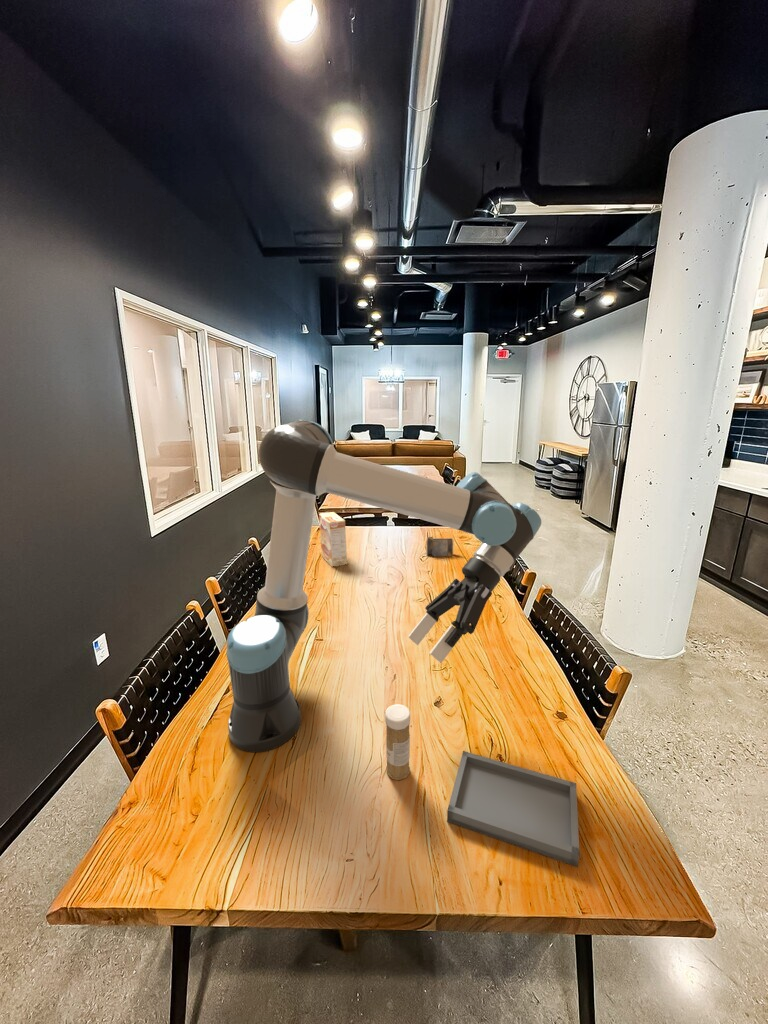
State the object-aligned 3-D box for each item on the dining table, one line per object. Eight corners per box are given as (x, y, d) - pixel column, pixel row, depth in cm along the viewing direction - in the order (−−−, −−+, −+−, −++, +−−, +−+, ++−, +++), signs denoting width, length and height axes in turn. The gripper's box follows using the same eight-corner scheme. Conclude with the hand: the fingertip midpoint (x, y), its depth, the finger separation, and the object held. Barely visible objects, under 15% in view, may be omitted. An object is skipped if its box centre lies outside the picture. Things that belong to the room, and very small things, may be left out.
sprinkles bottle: (385, 762, 83) (384, 704, 80) (408, 760, 84) (408, 702, 80) (387, 782, 79) (386, 722, 75) (412, 780, 79) (412, 720, 76)
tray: (447, 821, 71) (447, 810, 71) (462, 761, 83) (463, 750, 82) (577, 867, 64) (579, 854, 64) (574, 794, 76) (576, 783, 75)
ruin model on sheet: (427, 557, 187) (427, 536, 184) (426, 554, 190) (426, 534, 187) (453, 557, 187) (453, 536, 184) (452, 554, 190) (452, 533, 187)
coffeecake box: (320, 555, 190) (318, 513, 185) (336, 553, 193) (334, 511, 187) (331, 567, 177) (329, 522, 171) (347, 564, 180) (345, 520, 174)
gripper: (533, 585, 77) (462, 680, 73) (473, 574, 102) (417, 645, 97) (504, 557, 76) (431, 653, 72) (450, 553, 101) (393, 624, 96)
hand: (422, 649), depth 85 cm, fingers open, 13 cm apart
